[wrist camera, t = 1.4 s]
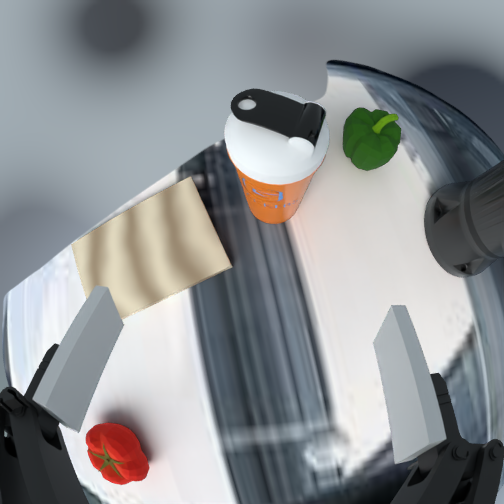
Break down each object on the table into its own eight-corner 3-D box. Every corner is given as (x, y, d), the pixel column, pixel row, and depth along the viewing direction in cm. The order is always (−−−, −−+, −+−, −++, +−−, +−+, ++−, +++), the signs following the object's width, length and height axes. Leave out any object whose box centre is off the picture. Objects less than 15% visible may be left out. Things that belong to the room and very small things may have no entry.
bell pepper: (340, 177, 39) (359, 143, 29) (332, 131, 40) (346, 91, 31) (390, 179, 39) (419, 149, 29) (380, 134, 40) (402, 99, 30)
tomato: (137, 416, 35) (118, 432, 28) (161, 472, 33) (147, 493, 26) (90, 418, 35) (68, 430, 28) (114, 470, 33) (97, 487, 26)
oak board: (193, 180, 40) (190, 176, 38) (232, 266, 38) (231, 265, 36) (76, 246, 39) (71, 244, 38) (102, 328, 37) (97, 329, 35)
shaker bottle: (248, 166, 40) (234, 66, 20) (309, 177, 39) (339, 82, 19) (234, 224, 39) (204, 150, 19) (299, 236, 38) (332, 172, 18)
